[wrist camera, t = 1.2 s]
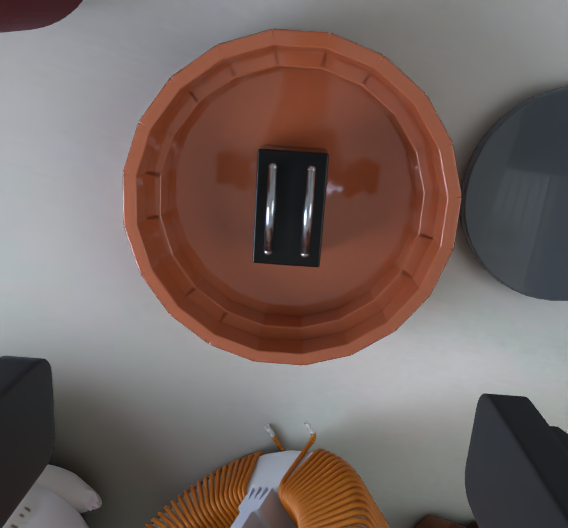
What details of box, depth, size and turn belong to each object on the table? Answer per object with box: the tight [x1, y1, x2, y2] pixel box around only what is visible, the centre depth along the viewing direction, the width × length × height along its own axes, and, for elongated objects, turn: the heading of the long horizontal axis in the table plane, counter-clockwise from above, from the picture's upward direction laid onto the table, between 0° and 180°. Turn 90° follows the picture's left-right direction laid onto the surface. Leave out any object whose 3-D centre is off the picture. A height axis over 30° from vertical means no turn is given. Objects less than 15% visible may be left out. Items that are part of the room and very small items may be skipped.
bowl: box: [123, 29, 462, 365], centre depth 24 cm, size 14×14×4 cm
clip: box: [252, 145, 329, 268], centre depth 24 cm, size 5×3×3 cm, turn 176°
